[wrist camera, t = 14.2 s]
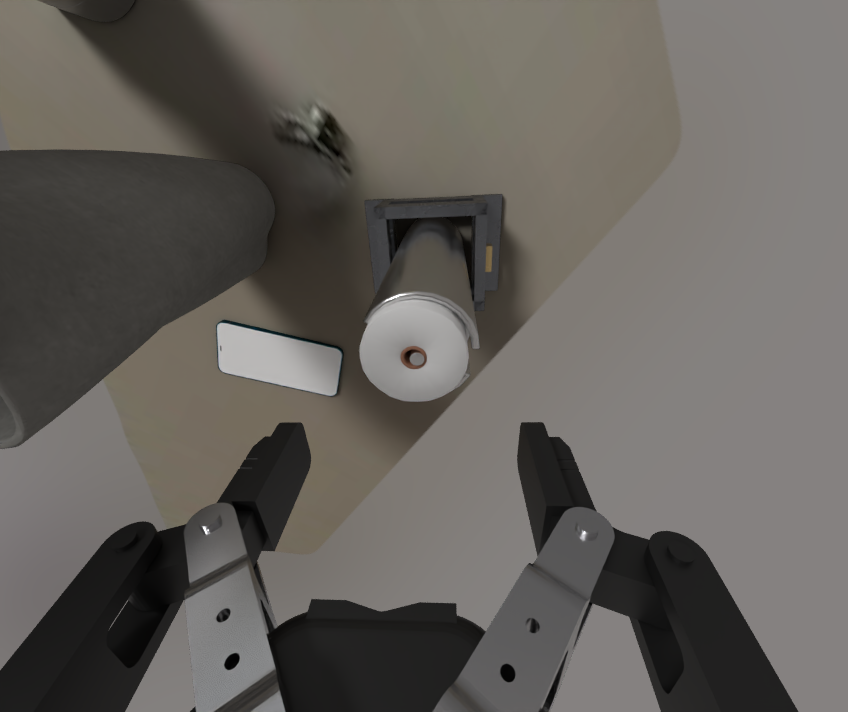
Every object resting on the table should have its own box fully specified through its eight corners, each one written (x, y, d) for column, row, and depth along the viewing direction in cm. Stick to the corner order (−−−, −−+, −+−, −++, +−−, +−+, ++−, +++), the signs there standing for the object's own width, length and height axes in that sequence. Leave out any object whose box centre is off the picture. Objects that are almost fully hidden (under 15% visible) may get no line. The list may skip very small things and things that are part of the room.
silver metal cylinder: (433, 287, 43) (420, 430, 21) (391, 247, 41) (327, 359, 19) (475, 245, 40) (508, 359, 18) (432, 201, 38) (412, 269, 17)
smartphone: (345, 345, 48) (219, 316, 47) (343, 349, 47) (215, 319, 46) (338, 394, 52) (221, 369, 50) (336, 398, 51) (218, 372, 50)
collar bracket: (376, 292, 43) (365, 313, 38) (365, 200, 39) (351, 208, 33) (496, 288, 42) (504, 310, 37) (501, 193, 38) (511, 201, 32)
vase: (293, 282, 43) (59, 482, 17) (187, 258, 43) (-223, 429, 17) (298, 167, 38) (-48, 207, 11) (175, 137, 37) (-495, 108, 11)
